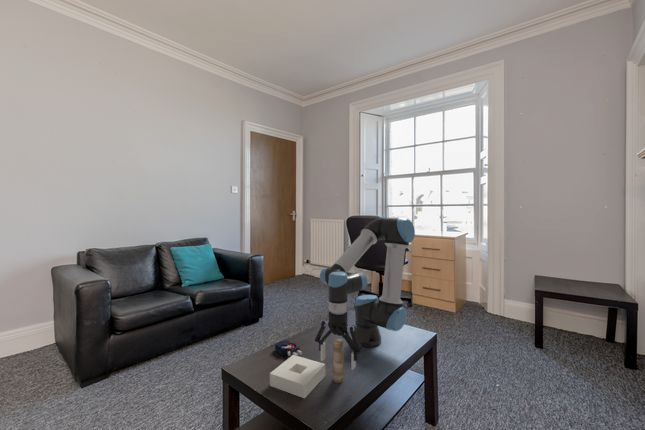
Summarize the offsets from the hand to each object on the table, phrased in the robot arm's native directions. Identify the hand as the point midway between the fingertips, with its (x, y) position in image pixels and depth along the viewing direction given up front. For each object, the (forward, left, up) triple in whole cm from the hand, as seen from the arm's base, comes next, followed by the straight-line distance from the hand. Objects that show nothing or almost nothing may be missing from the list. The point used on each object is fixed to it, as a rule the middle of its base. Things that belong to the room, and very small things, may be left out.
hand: (337, 363), depth 117 cm
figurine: (-8, -30, -7) cm, 32 cm away
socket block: (+8, -14, -7) cm, 17 cm away
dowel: (0, 0, -7) cm, 7 cm away
